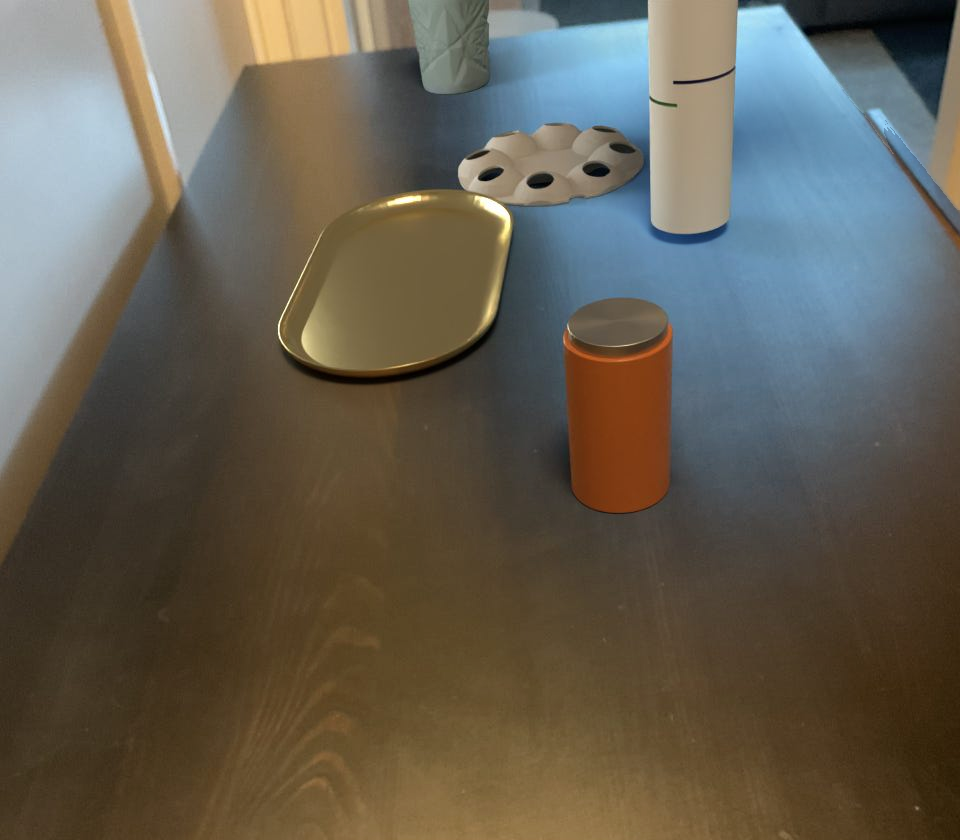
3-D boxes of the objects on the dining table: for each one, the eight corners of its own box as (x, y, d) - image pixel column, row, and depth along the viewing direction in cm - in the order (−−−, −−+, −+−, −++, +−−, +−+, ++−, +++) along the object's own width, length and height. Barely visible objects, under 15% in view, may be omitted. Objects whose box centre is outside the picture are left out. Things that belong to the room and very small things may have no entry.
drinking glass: (402, 87, 138) (387, -19, 130) (461, 64, 143) (449, -40, 134) (455, 101, 132) (442, -10, 124) (514, 76, 137) (505, -32, 129)
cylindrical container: (722, 234, 96) (733, -101, 79) (643, 233, 98) (637, -94, 81) (736, 201, 100) (749, -122, 83) (659, 200, 103) (657, -114, 86)
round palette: (649, 128, 119) (649, 109, 118) (636, 202, 106) (636, 182, 104) (476, 136, 123) (474, 118, 122) (442, 208, 109) (439, 189, 108)
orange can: (659, 450, 75) (661, 288, 67) (679, 506, 71) (683, 340, 62) (565, 462, 76) (556, 302, 67) (578, 519, 71) (570, 355, 63)
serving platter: (258, 391, 87) (253, 374, 86) (342, 210, 112) (339, 195, 111) (488, 383, 84) (486, 365, 83) (522, 199, 109) (521, 183, 108)
